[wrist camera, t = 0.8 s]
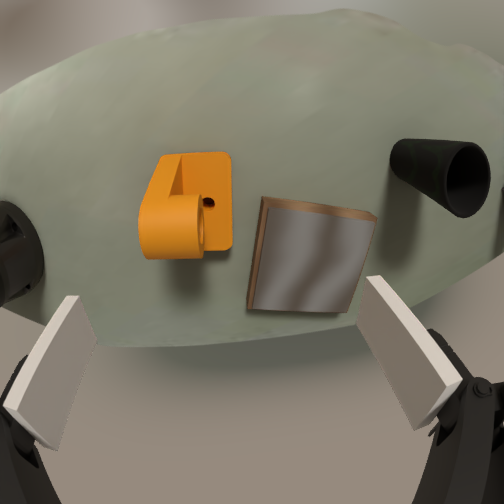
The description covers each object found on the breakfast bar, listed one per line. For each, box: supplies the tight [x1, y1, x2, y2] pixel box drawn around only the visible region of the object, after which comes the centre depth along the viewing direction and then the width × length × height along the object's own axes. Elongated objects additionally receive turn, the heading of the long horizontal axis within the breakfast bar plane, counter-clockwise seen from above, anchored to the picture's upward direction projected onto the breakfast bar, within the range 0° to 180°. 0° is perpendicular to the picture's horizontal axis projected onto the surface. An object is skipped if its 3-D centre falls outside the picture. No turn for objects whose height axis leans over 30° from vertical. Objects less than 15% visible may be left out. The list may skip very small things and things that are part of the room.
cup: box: [390, 139, 491, 218], centre depth 26 cm, size 8×8×12 cm
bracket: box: [138, 152, 233, 259], centre depth 26 cm, size 11×7×12 cm, turn 0°
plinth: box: [247, 196, 377, 313], centre depth 35 cm, size 14×14×3 cm
